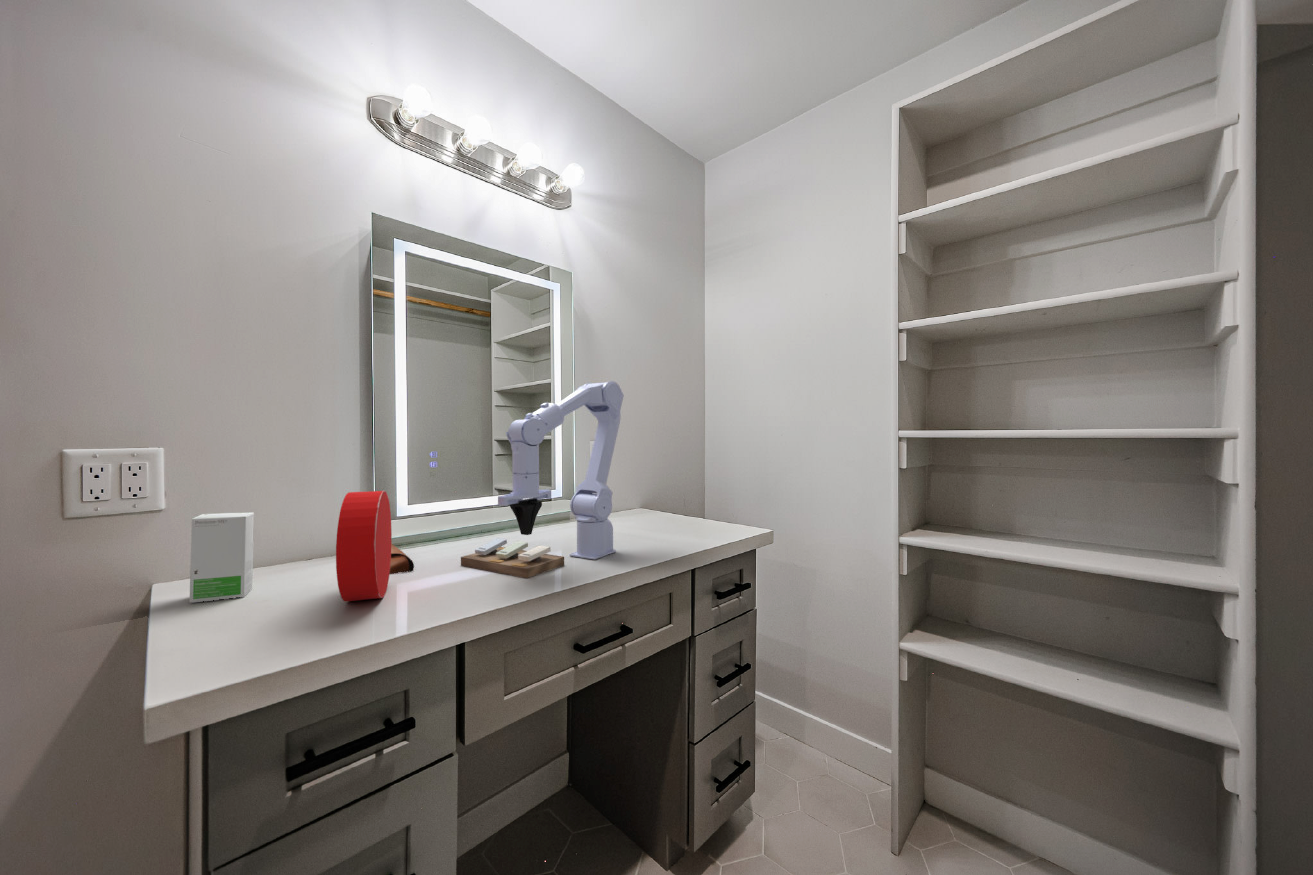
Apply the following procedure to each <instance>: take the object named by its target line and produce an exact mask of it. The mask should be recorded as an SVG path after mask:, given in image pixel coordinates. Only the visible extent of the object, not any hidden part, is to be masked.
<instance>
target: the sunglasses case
mask: <svg viewBox="0 0 1313 875" xmlns="http://www.w3.org/2000/svg"><path fill="white" fill-rule="evenodd" d="M414 568H415V563H414V562H413V560H412V559H411V558H410V557H409V556H408V555H407V554H406V553H404V552H403V551H402V550H401V549H399V548H398V547H396V546H395V545H394V543H392V542H391V563H390V573H389V575H393V574H394V573H395V574H399V573H398V572H402V573H408V572H413V571H414ZM407 571H408V572H407Z"/></svg>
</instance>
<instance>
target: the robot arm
mask: <svg viewBox="0 0 1313 875" xmlns="http://www.w3.org/2000/svg"><path fill="white" fill-rule="evenodd" d="M623 400H624V393H623V391H622V389H621V387H620V385H619V384H618V382H616V381H614V380H609V381H606V382H594V383H592V382H587V383H585V384H583V385H581V386H578V388H577V389H576V390H574V391H573V392H572V393H570V394H569V395H568V396H566V397H564V398H563V399H562V400H560V401H559V402H557V403H554V402H553V403H552V402H543V403H542V404H540V408H538V409H537V410H535V411H533V412H528V413H527V414H525V417H524V419H515V420H514V421H512V422H511V424H510V426H509V428H508V431H506V438H507V441H508V442H509V443H510V449H511V451H512V452H511V455H512V465H511V466H512V491H510V493H508V494H504V495H498V496H497V506H499V507H500V506H501V507H502V506H503V507H508V506H509V508H510V509H511V511H512V512H513V514H514V516H515V518H516V521H517V524H518V528H519V532H520V534H521V535H524V536H530V535H532V534H533V530H534V526H535V525H534V524H535V521H536V518H537V516H538V514H539V511H540V510H541V508H542V506H543V502H542V501H541V500H544V499H545V500H546V499H552V489H540V444H541V443H542V442H543V441H544V438H545V436H546V435H547V434H549V433H550V432H553V430H555V429H557V428H558V427H559V426H561V425H562V424H564V420H565V417H566V416H568V415H569V414H570V413H572V412H574V411H576V410H578V409H579V408H581V407H583V406H584V407H585V408H586V409H587V410H588V411H589V412H590V414H592V416H594V418H596V420H597V421H598V423H597V427H596V431H595V435H594V439H593V440H594V441H593V445H592V449H591V452H590V453H591V454H590V458H589V460H588V466H587V471H586V475H585V479H584V480H583V481H581V482H580V483H579V485H577V486H576V489H575V493H574V495H573V496H572V497H571V500H570V503H569V504H570V505H569V507H570V508H569V509H570V511H571V513H572V514H573V516H574V519H575V520H576V551H575V552H571V553H569V556H570V557H576V558H582V559H587V560H598V559H601V558H602V557H605V556H608V555H610V554H613V553H616V552H617V549H614V525H613V523H612V521H610V519H609V516H610V515H611V513H612V509H613V502H612V499H613V498H612V497H613V491H612V489H611V488H610V487H609V486H608V484H607V483H608V478H609V473H610V469H611V464H612V459H613V455H614V451H615V446H616V442H617V437H618V432H619V428H620V423H621V410H622V409H621V408H622V404H623ZM539 500H540V501H539Z"/></svg>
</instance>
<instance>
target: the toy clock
mask: <svg viewBox="0 0 1313 875" xmlns="http://www.w3.org/2000/svg"><path fill="white" fill-rule="evenodd" d="M341 503H342V504H341V507H340V510H339V516H338V522H337V530H336V541H335V543H336V544H335V571H336V580H337V587H338V592H339V595H340V597H341V599H342V601H344V602H345V603H346V602H353V601H354V602H356V601H364V600H373V599H383V598H384V597H385V596H386V593H387V590H388V586H389V579H390V574H389V573H390V563H391V543H392V514H391V504H390V498H389V495H388V493H387V491H386V490H374V491H373V490H372V491H354V492H353V491H349V492H347V493H346V494H345V496H344V498H343V500H342V502H341Z"/></svg>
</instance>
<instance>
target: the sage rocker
mask: <svg viewBox="0 0 1313 875" xmlns="http://www.w3.org/2000/svg"><path fill="white" fill-rule="evenodd" d="M528 547H529V543H528V541H519V540H517V541H515V542H513V543H512V544H510V545H508V546H506V548H504V549H502V550H500V551H499V552H497V553H496V557H499V558H504V559H507V558H509V557H511V556H512V555H514V554H516V553H518V552H519V551H521V550H525V549H526V548H528Z"/></svg>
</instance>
